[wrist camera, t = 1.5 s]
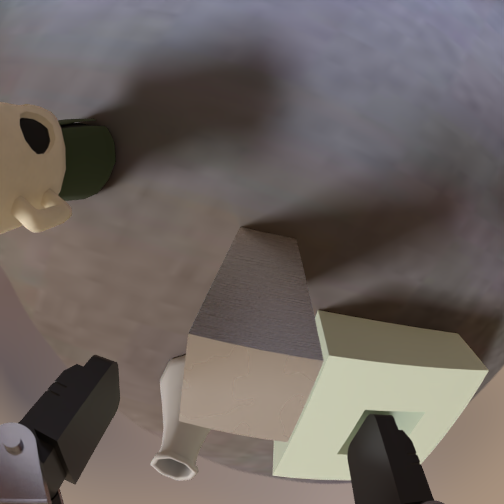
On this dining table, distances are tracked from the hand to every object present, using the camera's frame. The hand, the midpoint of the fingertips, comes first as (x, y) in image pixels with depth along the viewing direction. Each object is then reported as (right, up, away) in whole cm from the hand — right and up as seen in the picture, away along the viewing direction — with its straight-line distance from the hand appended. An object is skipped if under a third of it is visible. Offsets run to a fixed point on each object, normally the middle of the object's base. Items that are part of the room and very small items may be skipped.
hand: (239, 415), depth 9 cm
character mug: (-13, +12, +13) cm, 22 cm away
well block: (+11, -8, +17) cm, 21 cm away
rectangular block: (+1, +4, +14) cm, 15 cm away
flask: (-4, -7, +18) cm, 20 cm away
